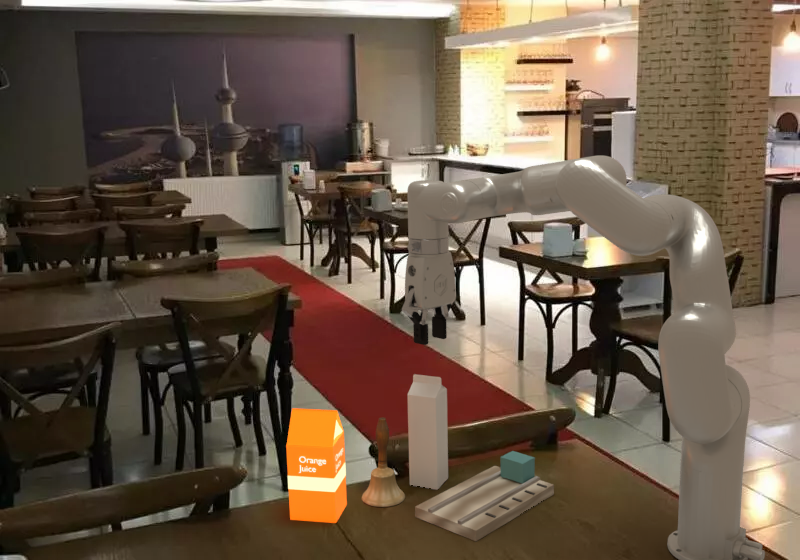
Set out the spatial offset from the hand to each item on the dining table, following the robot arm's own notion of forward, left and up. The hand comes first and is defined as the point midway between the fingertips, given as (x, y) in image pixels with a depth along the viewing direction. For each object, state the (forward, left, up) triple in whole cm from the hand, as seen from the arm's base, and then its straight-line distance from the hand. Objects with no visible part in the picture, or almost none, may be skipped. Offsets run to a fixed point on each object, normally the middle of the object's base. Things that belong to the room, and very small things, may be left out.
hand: (430, 339), depth 163 cm
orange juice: (+8, +23, -30) cm, 38 cm away
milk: (+1, 0, -30) cm, 30 cm away
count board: (-14, +1, -29) cm, 33 cm away
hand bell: (+3, +11, -30) cm, 32 cm away
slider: (-14, -9, -27) cm, 32 cm away
